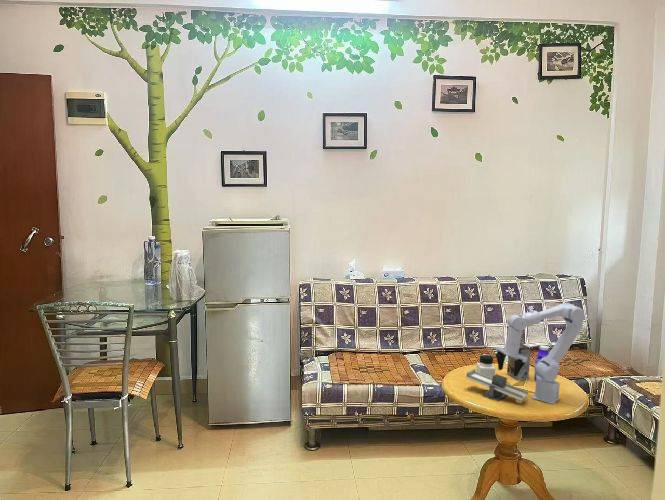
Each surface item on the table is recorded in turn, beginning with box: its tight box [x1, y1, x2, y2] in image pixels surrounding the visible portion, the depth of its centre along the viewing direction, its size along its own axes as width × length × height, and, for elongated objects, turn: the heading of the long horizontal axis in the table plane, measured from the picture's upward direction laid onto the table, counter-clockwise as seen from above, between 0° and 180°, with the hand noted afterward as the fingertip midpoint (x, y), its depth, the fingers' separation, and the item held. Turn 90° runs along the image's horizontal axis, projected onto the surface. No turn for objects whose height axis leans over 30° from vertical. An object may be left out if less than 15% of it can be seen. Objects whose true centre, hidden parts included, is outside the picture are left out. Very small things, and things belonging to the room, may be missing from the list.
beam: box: [465, 368, 529, 404], centre depth 237 cm, size 26×7×5 cm, turn 49°
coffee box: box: [506, 342, 532, 381], centre depth 260 cm, size 9×6×16 cm
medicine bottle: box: [475, 353, 496, 378], centre depth 256 cm, size 7×7×12 cm
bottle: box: [533, 345, 550, 381], centre depth 254 cm, size 7×6×17 cm
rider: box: [491, 373, 508, 388], centre depth 236 cm, size 5×4×4 cm
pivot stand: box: [481, 386, 507, 402], centre depth 237 cm, size 8×10×6 cm
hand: (507, 372), depth 232 cm, fingers open, 7 cm apart
